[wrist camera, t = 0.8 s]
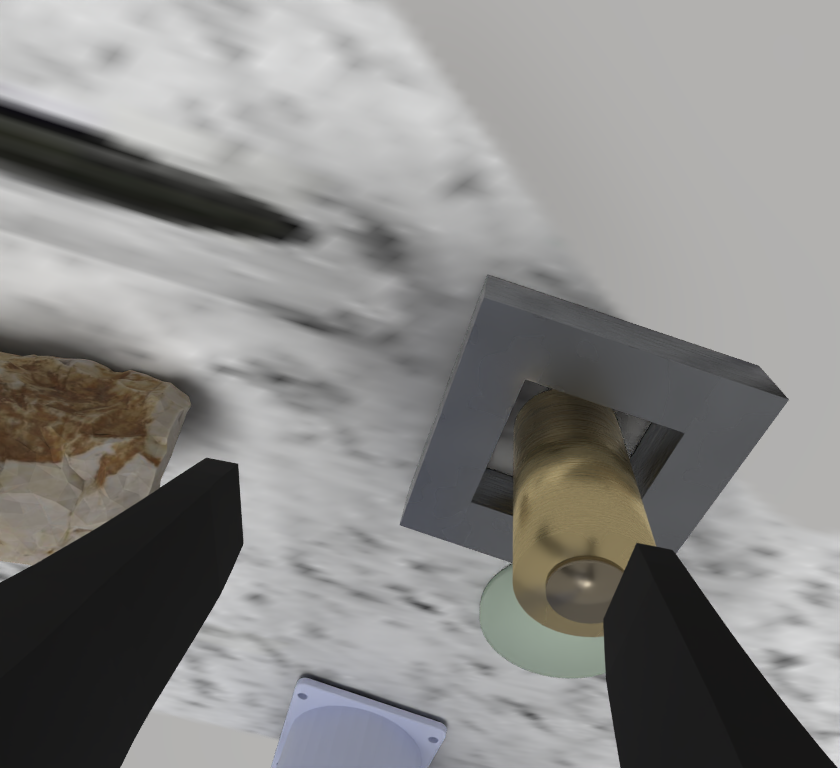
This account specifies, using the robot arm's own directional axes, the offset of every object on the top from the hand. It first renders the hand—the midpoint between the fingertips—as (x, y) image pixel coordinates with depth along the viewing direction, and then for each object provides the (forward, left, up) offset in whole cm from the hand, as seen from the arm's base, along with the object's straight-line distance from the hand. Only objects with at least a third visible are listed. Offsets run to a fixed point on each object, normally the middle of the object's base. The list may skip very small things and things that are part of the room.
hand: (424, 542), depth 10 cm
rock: (-8, +14, -10) cm, 19 cm away
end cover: (-2, -4, -10) cm, 11 cm away
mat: (-11, -8, -10) cm, 16 cm away
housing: (-2, -4, -10) cm, 11 cm away
